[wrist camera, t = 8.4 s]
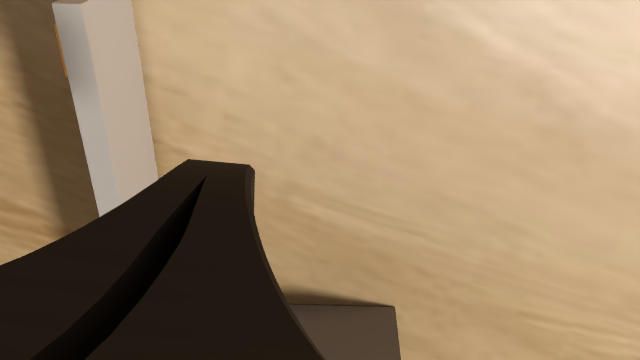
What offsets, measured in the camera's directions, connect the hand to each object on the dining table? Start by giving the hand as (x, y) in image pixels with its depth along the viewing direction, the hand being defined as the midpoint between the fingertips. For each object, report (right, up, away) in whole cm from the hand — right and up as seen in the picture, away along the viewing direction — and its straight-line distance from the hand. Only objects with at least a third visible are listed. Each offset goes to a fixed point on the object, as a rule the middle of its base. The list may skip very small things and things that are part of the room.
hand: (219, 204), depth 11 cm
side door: (-5, +1, +10) cm, 11 cm away
